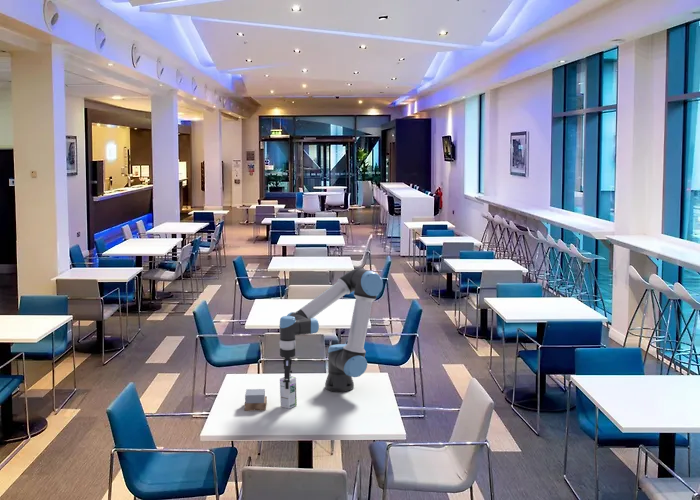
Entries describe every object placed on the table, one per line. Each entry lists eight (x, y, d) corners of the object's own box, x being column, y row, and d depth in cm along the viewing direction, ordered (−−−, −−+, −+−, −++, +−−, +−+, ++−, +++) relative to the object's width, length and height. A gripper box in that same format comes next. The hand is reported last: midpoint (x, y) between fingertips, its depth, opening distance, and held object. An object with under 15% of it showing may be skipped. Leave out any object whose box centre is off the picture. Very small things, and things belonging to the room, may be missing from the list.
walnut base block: (266, 404, 371) (266, 396, 370) (265, 411, 361) (265, 403, 360) (246, 404, 370) (246, 396, 370) (244, 411, 360) (244, 403, 360)
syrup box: (289, 409, 362) (288, 380, 360) (280, 406, 366) (279, 377, 364) (296, 405, 367) (296, 377, 365) (287, 403, 370) (287, 375, 368)
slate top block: (264, 396, 370) (264, 388, 369) (264, 403, 361) (263, 395, 360) (246, 397, 369) (246, 389, 368) (245, 403, 360) (245, 395, 359)
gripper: (280, 341, 374) (280, 382, 377) (278, 355, 350) (278, 398, 353) (295, 341, 375) (295, 382, 378) (294, 355, 350) (294, 398, 353)
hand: (287, 390), depth 365 cm, fingers open, 13 cm apart
